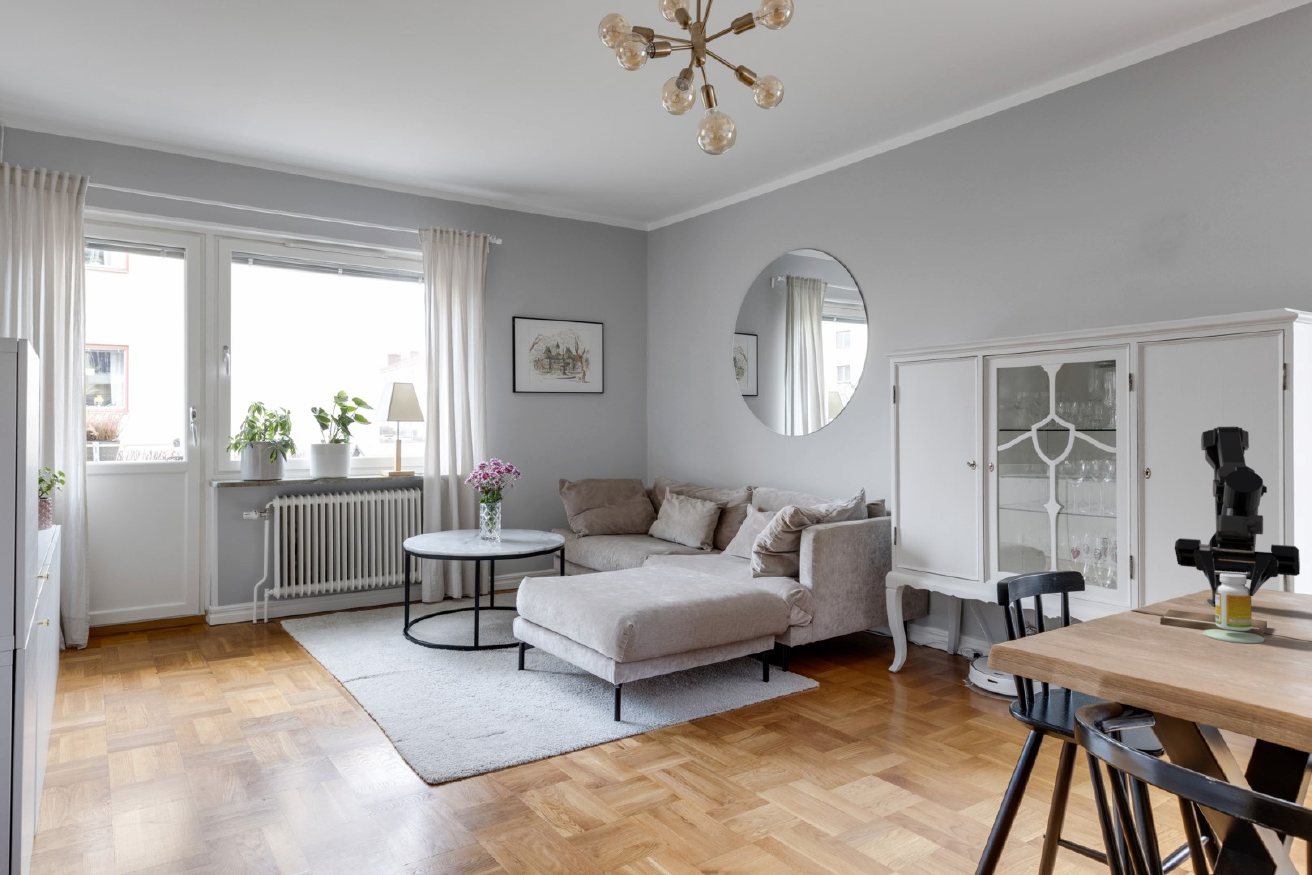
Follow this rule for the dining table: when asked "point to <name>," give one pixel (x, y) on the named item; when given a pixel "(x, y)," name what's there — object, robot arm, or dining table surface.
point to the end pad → (1233, 636)
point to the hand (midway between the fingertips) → (1232, 592)
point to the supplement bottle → (1233, 603)
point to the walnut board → (1205, 622)
